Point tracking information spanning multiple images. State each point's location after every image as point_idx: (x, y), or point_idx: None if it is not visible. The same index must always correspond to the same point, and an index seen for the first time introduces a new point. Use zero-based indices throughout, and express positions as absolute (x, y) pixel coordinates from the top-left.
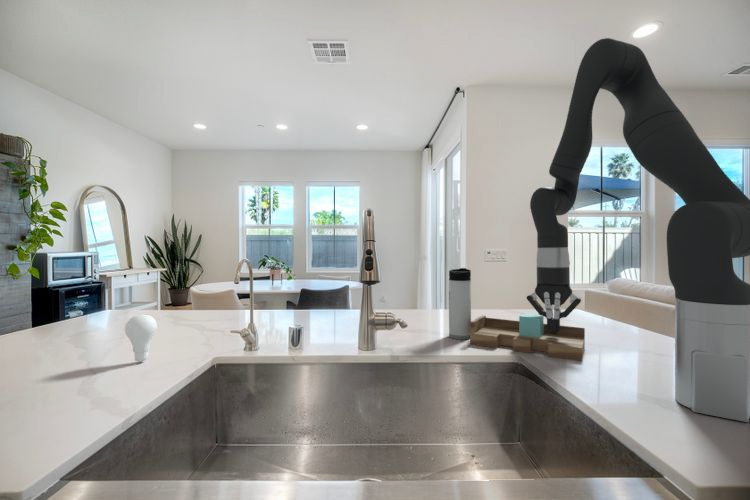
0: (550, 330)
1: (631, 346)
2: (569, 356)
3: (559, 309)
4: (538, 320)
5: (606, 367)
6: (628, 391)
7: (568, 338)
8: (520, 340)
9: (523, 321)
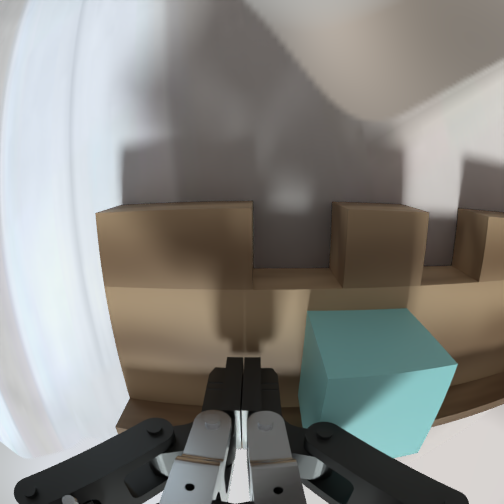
0: (257, 362)
1: (71, 442)
2: (161, 204)
3: (176, 458)
4: (335, 367)
5: (54, 178)
6: (35, 8)
7: (180, 370)
8: (394, 211)
9: (421, 350)
